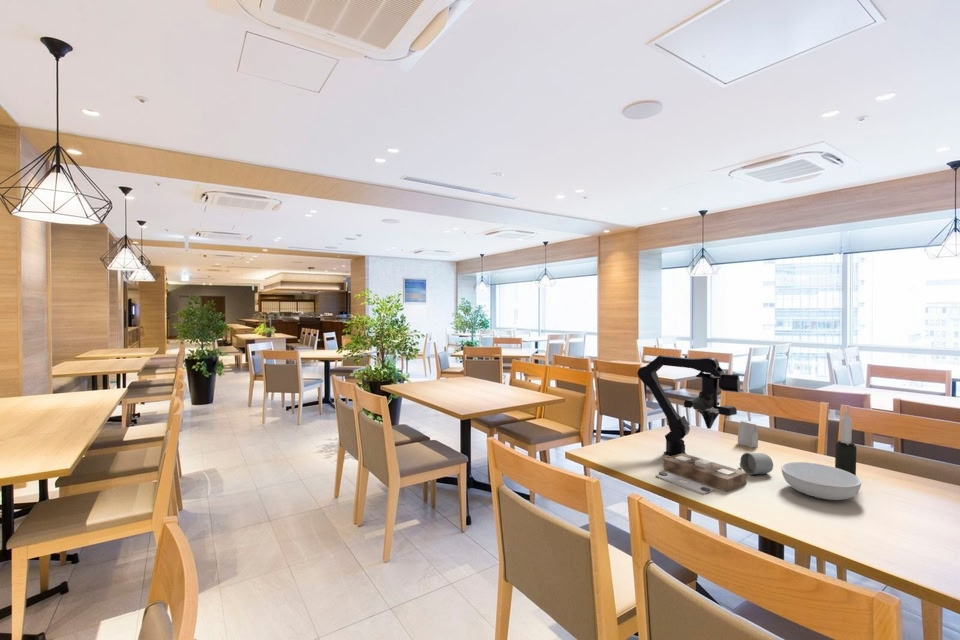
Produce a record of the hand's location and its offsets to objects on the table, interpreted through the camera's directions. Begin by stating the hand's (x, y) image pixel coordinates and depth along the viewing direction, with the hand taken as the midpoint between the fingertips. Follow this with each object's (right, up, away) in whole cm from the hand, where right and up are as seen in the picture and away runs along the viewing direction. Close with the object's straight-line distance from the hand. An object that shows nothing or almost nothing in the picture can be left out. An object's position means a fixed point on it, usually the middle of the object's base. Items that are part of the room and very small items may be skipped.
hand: (708, 428), depth 176 cm
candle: (+38, -14, -19) cm, 45 cm away
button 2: (-6, -12, -22) cm, 26 cm away
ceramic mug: (+11, -14, -11) cm, 21 cm away
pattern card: (-20, -14, -22) cm, 33 cm away
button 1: (-14, -12, -9) cm, 21 cm away
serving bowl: (+21, -14, -30) cm, 39 cm away
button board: (-10, -14, -15) cm, 23 cm away
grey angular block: (+28, -13, +20) cm, 37 cm away
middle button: (-10, -11, -16) cm, 22 cm away
